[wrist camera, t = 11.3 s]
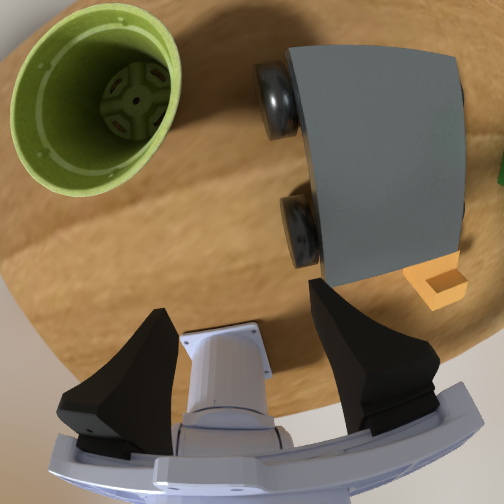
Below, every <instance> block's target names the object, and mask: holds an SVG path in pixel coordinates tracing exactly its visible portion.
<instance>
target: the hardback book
mask: <svg viewBox="0 0 504 504" xmlns="http://www.w3.org/2000/svg"><path fill="white" fill-rule="evenodd" d="M497 183H499V184H501V185H503V186H504V153H503V159H502V164H501V169H500V174H499V178H498V182H497Z"/></svg>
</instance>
